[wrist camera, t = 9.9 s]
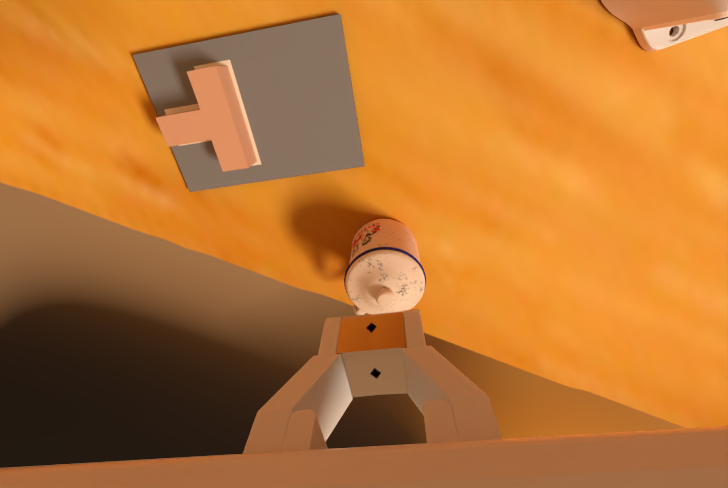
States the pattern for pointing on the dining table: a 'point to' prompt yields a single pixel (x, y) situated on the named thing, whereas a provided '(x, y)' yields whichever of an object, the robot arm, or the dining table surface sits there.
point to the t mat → (267, 100)
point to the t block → (213, 119)
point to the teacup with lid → (384, 269)
